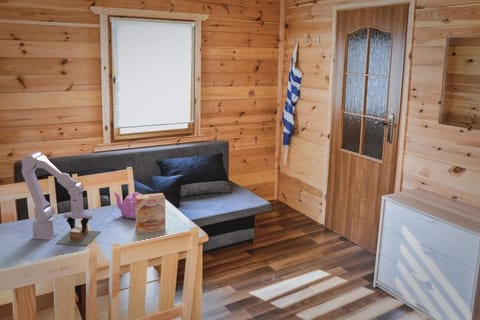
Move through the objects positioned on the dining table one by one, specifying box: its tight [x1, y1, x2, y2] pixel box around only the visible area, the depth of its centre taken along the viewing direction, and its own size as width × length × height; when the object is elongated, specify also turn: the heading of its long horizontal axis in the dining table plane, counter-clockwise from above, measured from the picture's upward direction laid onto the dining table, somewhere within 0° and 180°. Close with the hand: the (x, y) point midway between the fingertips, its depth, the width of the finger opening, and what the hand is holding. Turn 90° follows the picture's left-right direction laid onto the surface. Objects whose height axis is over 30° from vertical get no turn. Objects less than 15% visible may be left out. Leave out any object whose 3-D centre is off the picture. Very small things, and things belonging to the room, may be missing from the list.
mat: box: [55, 230, 102, 247], centre depth 241 cm, size 16×18×1 cm
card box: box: [69, 223, 89, 241], centre depth 241 cm, size 10×5×5 cm, turn 174°
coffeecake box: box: [135, 192, 166, 235], centre depth 251 cm, size 15×7×20 cm, turn 112°
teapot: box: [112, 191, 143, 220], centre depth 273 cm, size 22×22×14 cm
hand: (78, 231), depth 240 cm, fingers closed on card box, 5 cm apart
